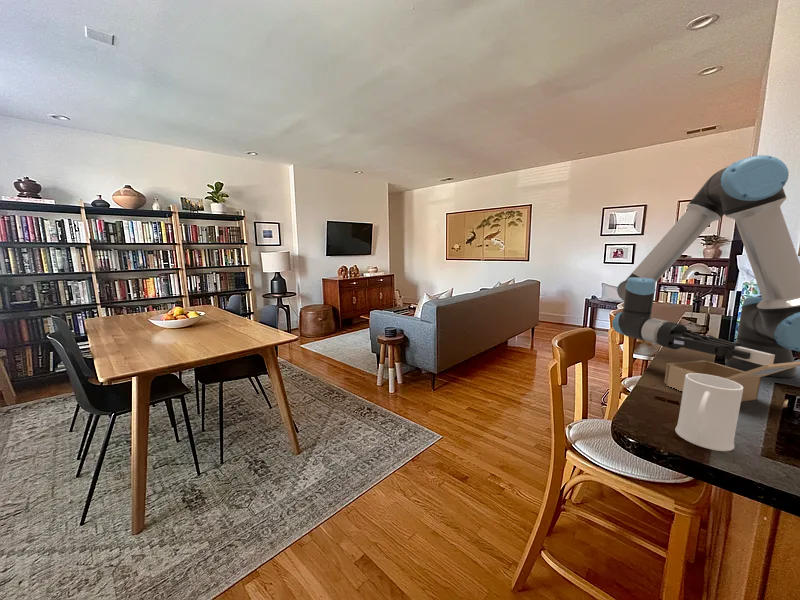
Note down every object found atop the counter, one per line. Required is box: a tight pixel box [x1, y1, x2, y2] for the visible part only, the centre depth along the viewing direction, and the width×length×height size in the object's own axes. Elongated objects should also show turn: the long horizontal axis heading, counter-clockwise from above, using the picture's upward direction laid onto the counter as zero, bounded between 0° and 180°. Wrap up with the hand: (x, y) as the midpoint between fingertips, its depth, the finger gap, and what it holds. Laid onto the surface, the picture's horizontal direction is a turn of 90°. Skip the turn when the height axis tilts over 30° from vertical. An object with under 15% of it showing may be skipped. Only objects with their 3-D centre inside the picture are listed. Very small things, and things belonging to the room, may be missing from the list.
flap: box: [726, 360, 800, 380], centre depth 75 cm, size 13×1×10 cm
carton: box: [663, 359, 762, 402], centre depth 85 cm, size 15×13×6 cm
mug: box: [674, 373, 743, 452], centre depth 62 cm, size 12×8×12 cm
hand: (771, 360), depth 73 cm, fingers closed
